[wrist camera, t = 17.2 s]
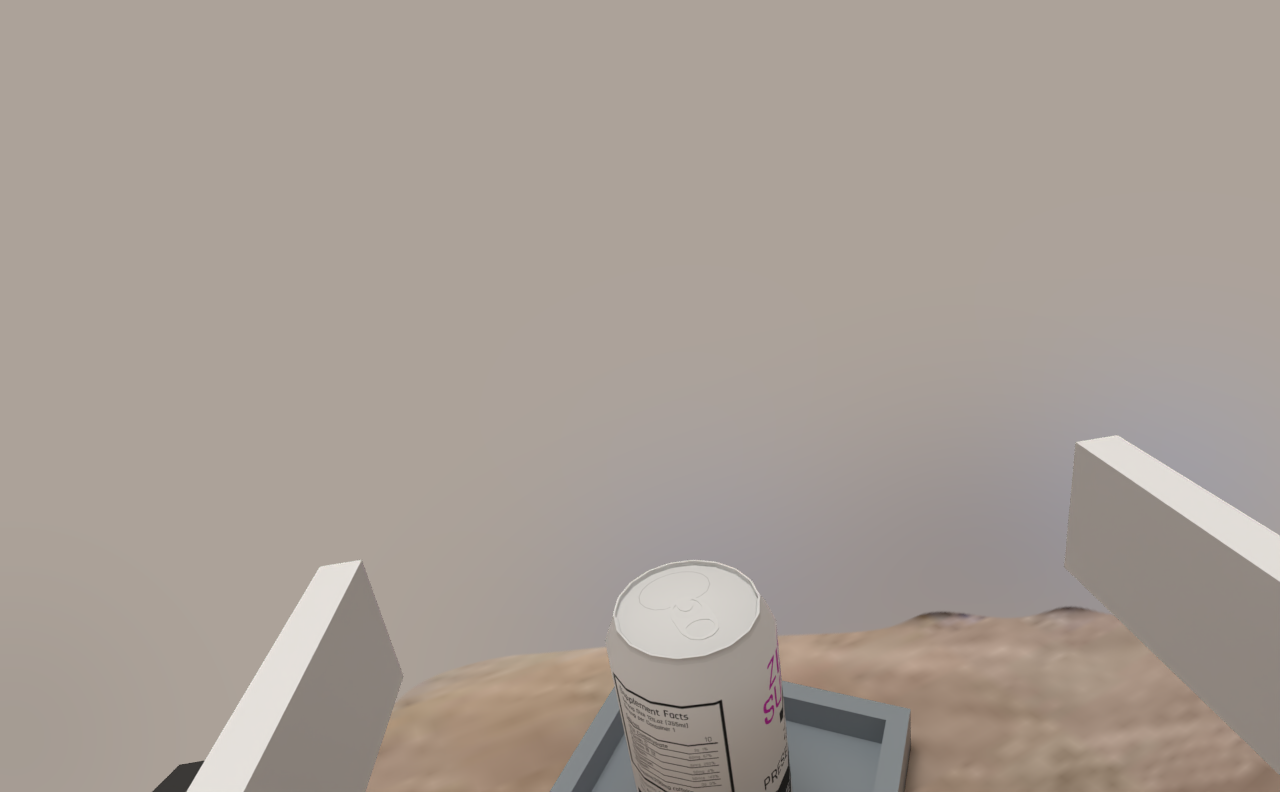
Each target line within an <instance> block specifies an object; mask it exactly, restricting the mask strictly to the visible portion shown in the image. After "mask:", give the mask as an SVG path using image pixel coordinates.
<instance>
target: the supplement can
mask: <svg viewBox="0 0 1280 792" xmlns="http://www.w3.org/2000/svg"><path fill="white" fill-rule="evenodd" d="M605 642H606V647H607V652H608V657H609V662H610V667H611V671H612V676H613V681H614V686H615V690H616V695H617V700H618V704H619V709H620V714H621V718H622V723H623V728H624V732H625V737H626V742H627V746H628V751H629V756H630V760H631V765H632V770H633V774H634V779H635V784H636V788H637V792H792V782H791V772H790V761H789V751H788V741H787V730H786V720H785V710H784V699H783V689H782V679H781V668H780V658H779V648H778V637H777V627H776V619H775V618H774V616H773V614H772V612H771V610H770V608H769V606H768V605H767V603H766V601H765V600H764V599H763V598H762V596H761V595H760V594H759V593H758V591H757V589H756V587H755V585H754V584H753V582H752V580H750V579H749V578H748V577H747V576H745V575H744V574H743V573H741V572H740V571H739V570H737V569H735V568H733V567H730V566H727V565H724V564H721V563H718V562H713V561H701V560H688V561H680V562H672V563H668V564H665V565H663V566H660V567H657V568H654V569H651V570H648V571H647V572H645V573H644V574H642V575H641V576H639V577H638V578H636V579H635V580H633V581H632V582H630V583H629V585H628V586H627V587H626V588H625V590H624V591H623V592H622V593H621V594H620V595H619V596H618V599H617V602H616V606H615V609H614V612H613V618H612V620H611V624H610V627H609V630H608V633H607V637H606V640H605Z"/></svg>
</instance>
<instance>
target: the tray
mask: <svg viewBox="0 0 1280 792" xmlns="http://www.w3.org/2000/svg"><path fill="white" fill-rule="evenodd" d="M782 689H783V699H784V710H785V720H786V730H787V741H788V751H789V761H790V772H791V782H792V792H904V790H905V783H906V776H907V769H908V762H909V755H910V748H911V719H910V709H907V708H903V707H898V706H894V705H889V704H885V703H880V702H876V701H871V700H866V699H862V698H857V697H853V696H848V695H844V694H839V693H835V692H830V691H826V690H821V689H817V688H812V687H808V686H803V685H799V684H794V683H790V682H785V681H782ZM550 792H637V788H636V784H635V779H634V774H633V770H632V765H631V760H630V756H629V751H628V746H627V742H626V737H625V732H624V728H623V723H622V718H621V714H620V709H619V704H618V700H617V695H616V690H615V686H614V688H613V690H612V691H611V693H610V694H609V696H608V698H607V699H606V701H605V703H604V704H603V706H602V707H601V709H600V711H599V712H598V714H597V716H596V717H595V719H594V720H593V722H592V724H591V725H590V727H589V729H588V730H587V732H586V734H585V735H584V737H583V738H582V740H581V742H580V743H579V745H578V747H577V748H576V750H575V751H574V753H573V755H572V756H571V758H570V760H569V761H568V763H567V764H566V766H565V768H564V769H563V771H562V773H561V774H560V776H559V777H558V779H557V781H556V782H555V784H554V786H553V787H552V789H551V791H550Z"/></svg>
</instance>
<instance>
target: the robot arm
mask: <svg viewBox="0 0 1280 792" xmlns="http://www.w3.org/2000/svg"><path fill="white" fill-rule="evenodd" d="M1064 567H1065V568H1066V569H1067V570H1068V571H1069V572H1070V573H1071V574H1072V575H1073V576H1074V577H1075V578H1076V579H1077V580H1078V581H1079V582H1080V583H1081V584H1082V585H1083V586H1085V588H1086V589H1087V590H1088V591H1090V592H1091V593H1092V594H1093V595H1094V596H1095V597H1096V598H1097V599H1098V600H1099V601H1100V602H1101V603H1102V604H1103V605H1104V606H1105V607H1106V608H1107V609H1108V610H1109V611H1110V612H1111V613H1112V614H1113V615H1114V616H1115V617H1116V618H1117V619H1118V620H1120V621H1121V622H1122V623H1123V624H1124V625H1125V626H1126V627H1127V628H1128V629H1129V630H1130V631H1131V632H1132V633H1133V634H1134V635H1135V636H1136V637H1137V638H1138V639H1139V640H1140V641H1141V642H1142V643H1143V644H1144V645H1145V646H1146V647H1148V648H1149V649H1150V650H1151V651H1152V652H1153V653H1154V654H1155V655H1156V656H1157V657H1158V658H1159V659H1160V660H1161V661H1162V662H1163V663H1164V664H1165V665H1166V666H1167V667H1168V668H1169V669H1170V670H1171V671H1172V672H1173V673H1174V674H1175V675H1177V676H1178V677H1179V678H1180V679H1181V680H1182V681H1183V682H1184V683H1185V684H1186V685H1187V686H1188V687H1189V688H1190V689H1191V690H1192V691H1193V692H1194V693H1195V694H1196V695H1197V696H1198V697H1199V698H1200V699H1201V700H1202V701H1203V702H1205V703H1206V704H1207V705H1208V706H1209V707H1210V708H1211V709H1212V710H1213V711H1214V712H1215V713H1216V714H1217V715H1218V716H1219V717H1220V718H1221V719H1222V720H1223V721H1224V722H1225V723H1226V724H1227V725H1228V726H1229V727H1230V728H1231V729H1232V730H1234V731H1235V732H1236V733H1237V734H1238V735H1239V736H1240V737H1241V738H1242V739H1243V740H1244V741H1245V742H1246V743H1247V744H1248V745H1249V746H1250V747H1251V748H1252V749H1253V750H1254V751H1255V752H1256V753H1257V754H1258V755H1259V756H1260V757H1262V758H1263V759H1264V760H1265V761H1266V762H1267V763H1268V764H1269V765H1270V766H1271V767H1272V768H1273V769H1274V770H1275V771H1276V772H1277V773H1278V774H1279V775H1280V535H1278V534H1276V533H1275V532H1273V531H1271V530H1270V529H1268V528H1267V527H1265V526H1263V525H1262V524H1260V523H1259V522H1257V521H1255V520H1254V519H1252V518H1250V517H1249V516H1247V515H1246V514H1244V513H1242V512H1241V511H1239V510H1237V509H1236V508H1234V507H1233V506H1231V505H1229V504H1228V503H1226V502H1225V501H1223V500H1221V499H1219V498H1218V497H1216V496H1215V495H1213V494H1211V493H1210V492H1208V491H1207V490H1205V489H1203V488H1202V487H1200V486H1199V485H1197V484H1195V483H1194V482H1192V481H1190V480H1189V479H1187V478H1186V477H1184V476H1182V475H1181V474H1179V473H1177V472H1176V471H1174V470H1173V469H1171V468H1169V467H1168V466H1166V465H1165V464H1163V463H1161V462H1160V461H1158V460H1156V459H1155V458H1153V457H1152V456H1150V455H1148V454H1147V453H1145V452H1143V451H1142V450H1140V449H1139V448H1137V447H1135V446H1133V445H1132V444H1131V443H1129V442H1127V441H1126V440H1124V439H1122V438H1121V437H1119V436H1118V435H1116V436H1110V437H1104V438H1098V439H1092V440H1085V441H1079V442H1076V444H1075V455H1074V466H1073V477H1072V488H1071V499H1070V509H1069V520H1068V531H1067V542H1066V552H1065V564H1064ZM402 679H403V673H402V671H401V668H400V665H399V663H398V659H397V657H396V654H395V651H394V649H393V646H392V643H391V640H390V637H389V634H388V632H387V629H386V626H385V623H384V620H383V618H382V615H381V612H380V610H379V607H378V604H377V601H376V598H375V595H374V593H373V590H372V587H371V584H370V582H369V579H368V576H367V573H366V570H365V567H364V565H363V562H362V560H357V561H351V562H345V563H340V564H333V565H328V566H321V567H320V568H319V569H318V571H317V573H316V574H315V576H314V578H313V579H312V581H311V583H310V584H309V586H308V588H307V590H306V591H305V593H304V595H303V596H302V598H301V600H300V601H299V603H298V604H297V606H296V608H295V610H294V611H293V613H292V615H291V616H290V618H289V620H288V621H287V623H286V625H285V626H284V628H283V630H282V631H281V633H280V635H279V637H278V638H277V640H276V642H275V643H274V645H273V647H272V649H271V650H270V652H269V654H268V655H267V657H266V659H265V660H264V662H263V663H262V665H261V667H260V669H259V670H258V672H257V674H256V675H255V677H254V679H253V680H252V682H251V684H250V686H249V687H248V689H247V691H246V692H245V694H244V696H243V697H242V699H241V701H240V702H239V704H238V706H237V708H236V709H235V711H234V712H233V714H232V716H231V718H230V719H229V721H228V722H227V724H226V726H225V728H224V729H223V731H222V733H221V734H220V736H219V738H218V739H217V741H216V743H215V744H214V746H213V748H212V749H211V751H210V753H209V755H208V756H207V758H206V760H205V761H200V762H194V763H188V764H182V765H179V766H178V767H177V768H176V769H175V770H174V771H173V772H172V773H171V774H170V775H169V776H168V777H167V778H166V779H165V780H164V781H163V782H162V783H161V784H160V785H159V786H158V787H157V788H156V789H155V790H154V791H153V792H365V791H366V788H367V785H368V782H369V779H370V776H371V773H372V770H373V767H374V764H375V761H376V758H377V755H378V752H379V749H380V746H381V743H382V740H383V737H384V734H385V731H386V728H387V725H388V722H389V719H390V716H391V713H392V710H393V707H394V704H395V701H396V698H397V694H398V692H399V688H400V685H401V682H402Z"/></svg>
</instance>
